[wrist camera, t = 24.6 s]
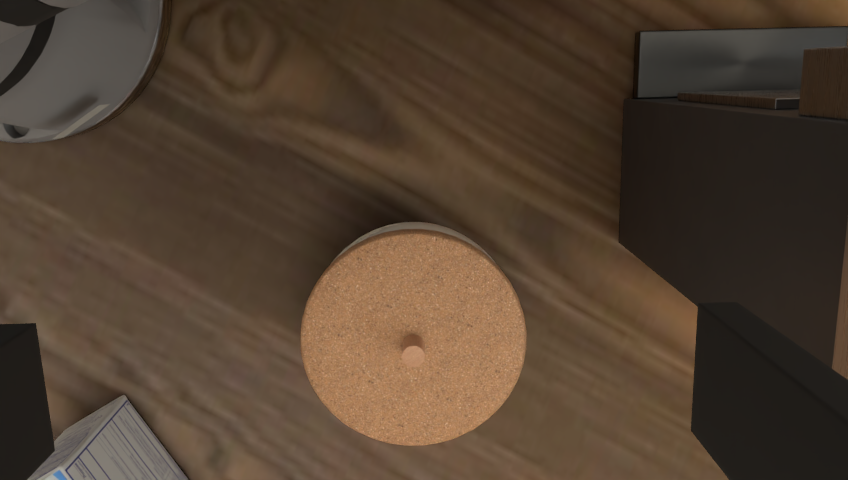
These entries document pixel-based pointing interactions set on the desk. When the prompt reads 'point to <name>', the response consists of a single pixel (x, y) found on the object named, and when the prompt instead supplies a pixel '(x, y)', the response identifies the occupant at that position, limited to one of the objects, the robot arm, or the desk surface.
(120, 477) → the medicine box
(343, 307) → the trinket box
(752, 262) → the coffee machine
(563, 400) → the desk surface
